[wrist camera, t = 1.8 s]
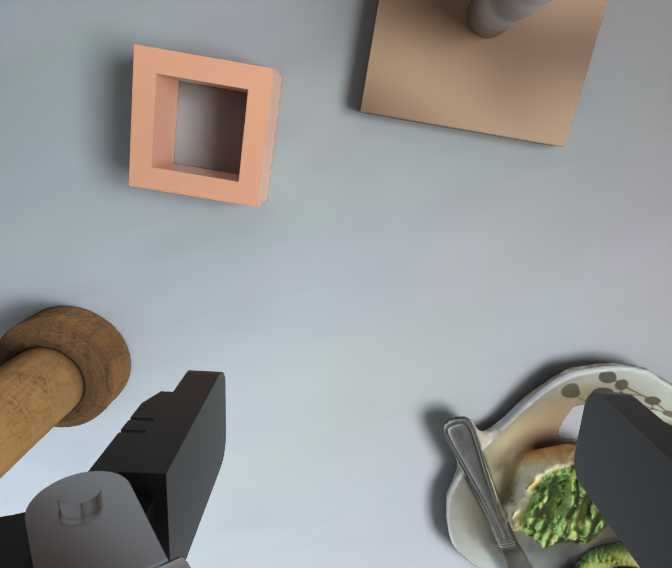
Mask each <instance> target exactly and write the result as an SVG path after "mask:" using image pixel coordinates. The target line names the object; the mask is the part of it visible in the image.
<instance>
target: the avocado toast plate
mask: <svg viewBox="0 0 672 568" xmlns="http://www.w3.org/2000/svg"><path fill="white" fill-rule="evenodd" d="M592 392H604V393H623V394H631V395H632V396H634V397H635V398H636V399H638V400H639V401H640V402H641V403H642V404H644V405H645V406H646V407H647V408H648V409H650V410H651V411H652V412H653V413H654V414H656V415H657V416H658V417H659V418H660V419H661V420H663V421H664V422H666V423H668V424H670V425H671V426H672V384H671V383H669V382H667V381H666V380H664V379H662V378H660V377H659V376H657V375H656V374H654V373H652V372H651V371H649V370H647V369H646V368H643V367H637V366H634V365H626V364H618V363H613V362H610V363H599V364H591V365H585V366H579V367H571V368H568V369H566V370H564V371H562V372H560V373H559V374H557V375H555V376H554V377H552V378H551V379H549V380H548V381H546V382H545V383H543V384H542V385H540V386H538V387H536V388H535V389H534V390H532V391H531V392H530V393H528V394H527V395H526V396H525V397H523V398H522V399H521V400H520V401H519V402H518V403H517V404H516V405H515V406H514V407H513V408H512V409H511V410H510V411H509V412H508V413H507V414H506V415H505V416H504V417H503V418H502V419H501V420H499V421H498V422H497V423H496V424H494V425H493V426H492V427H490V428H488V429H487V430H485V431H480V430H479V429H477V428H476V427H475V424H474V423H473V421H471V420H470V419H468V418H467V417H463V416H462V417H454V418H451V419H449V420H448V421H446V422H445V424H444V426H443V433H444V436H445V438H446V440H447V442H448V444H449V446H450V448H451V450H452V452H453V453H454V455H455V458H456V460H457V470H456V472H455V474H454V477H453V480H452V482H451V484H450V486H449V489H448V491H447V494H446V518H447V525H448V531H449V536H450V539H451V542H452V544H453V545H454V547H455V548H456V550H457V551H458V552H460V553H461V554H462V555H463V556H464V557H466V558H467V559H468V560H469V561H470V562H471V563H473V564H474V565H476V566H477V567H479V568H640V567H639V566H638V564H637V563H636V562H635V560H634V559H633V557H632V556H631V555H630V553H629V552H628V550H627V549H626V548H625V546H624V545H623V543H622V542H621V541H620V539H619V538H618V537H617V535H616V534H615V532H614V531H613V530H612V528H611V527H610V525H609V524H608V523H607V521H606V520H605V518H604V517H603V516H602V514H601V513H600V512H599V510H598V509H597V507H596V506H595V505H594V503H593V502H592V500H591V499H590V498H589V496H588V495H587V493H586V492H585V491H584V489H583V488H582V487H581V485H580V483H579V481H578V479H577V476H576V473H575V467H574V455H575V449H576V444H577V440H575V439H564V438H560V437H559V435H558V430H559V428H560V426H561V425H562V422H563V420H564V419H565V417H566V416H567V415H568V413H569V412H570V411H571V409H572V408H573V407H574V406H578V405H584V404H585V402H586V399H587V397H588V396H589V395H590V394H591V393H592Z"/></svg>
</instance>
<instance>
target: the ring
mask: <svg viewBox="0 0 672 568" xmlns="http://www.w3.org/2000/svg"><path fill="white" fill-rule="evenodd" d="M282 78H283V76H281V75H280V74H279V73H278V72H277V71H276V70H275V69H273V68H267V67H261V66H256V65H250V64H244V63H239V62H233V61H227V60H222V59H216V58H210V57H204V56H199V55H193V54H187V53H182V52H176V51H170V50H165V49H159V48H153V47H147V46H142V45H136V44H134V60H133V87H132V113H131V139H130V166H129V186H134V187H140V188H146V189H152V190H158V191H164V192H170V193H176V194H182V195H188V196H194V197H200V198H206V199H212V200H218V201H224V202H230V203H236V204H242V205H248V206H254V207H259V206H260V205H261V204H262V203H263V202H265V201H266V200H267V199H268V192H269V184H270V176H271V168H272V160H273V151H274V143H275V135H276V127H277V119H278V111H279V102H280V94H281V86H282ZM179 81H184V82H190V83H195V84H201V85H207V86H213V87H218V88H224V89H230V90H236V91H241V92H247V93H248V96H247V106H246V116H245V125H244V135H243V145H242V154H241V164H240V174H233V173H227V172H221V171H216V170H210V169H204V168H198V167H192V166H186V165H180V164H174V152H175V136H176V121H177V105H178V89H179Z"/></svg>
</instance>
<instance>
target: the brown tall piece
mask: <svg viewBox="0 0 672 568" xmlns="http://www.w3.org/2000/svg"><path fill="white" fill-rule="evenodd" d="M130 370H131V360H130V354H129V351H128V348H127V345H126V343H125V341H124V339H123V337H122V336H121V334H120V333H119V332H118V331H117V330H116V329H115V327H113V326H112V325H111V324H110V323H109V322H108V321H106V320H105V319H103V318H102V317H100V316H98V315H96V314H94V313H92V312H90V311H87V310H84V309H81V308H77V307H69V306H59V307H52V308H48V309H45V310H42V311H40V312H38V313H36V314H34V315H33V316H31V317H29V318H27V319H26V320H24V321H22V322H21V323H19V324H17V325H16V326H14V327H13V328H11V329H10V330H9V331H8V332H6V333H5V334H4V336H3V337H2V338H1V339H0V478H1V477H2V476H3V475H4V474H5V473H6V472H8V471H9V470H10V469H11V468H12V467H13V466H14V465H15V464H16V463H17V462H18V461H19V460H20V459H21V458H22V457H23V456H24V455H25V454H26V453H27V452H28V451H29V450H30V449H31V448H32V447H33V446H34V445H35V444H36V443H37V442H38V441H39V440H40V439H41V438H42V437H44V436H45V435H46V434H47V433H48V432H49V431H50V430H51V429H52V428H53V427H72V426H77V425H81V424H84V423H86V422H88V421H90V420H92V419H94V418H95V417H97V416H98V415H99V414H101V413H102V412H103V411H104V410H105V409H106V408H107V407H108V406H109V404H110V403H111V402H112V401H113V400H114V399H115V398H116V397H117V396H118V395H119V394H120V393H121V391H122V390H123V389H124V387H125V385H126V383H127V381H128V379H129V375H130Z"/></svg>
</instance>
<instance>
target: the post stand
mask: <svg viewBox="0 0 672 568" xmlns="http://www.w3.org/2000/svg"><path fill="white" fill-rule="evenodd" d="M607 1H608V0H379V2H378V8H377V14H376V20H375V26H374V32H373V38H372V44H371V49H370V55H369V61H368V67H367V73H366V79H365V85H364V91H363V97H362V103H361V109H360V112H362V113H368V114H374V115H380V116H385V117H391V118H397V119H403V120H408V121H414V122H420V123H426V124H431V125H437V126H443V127H449V128H454V129H460V130H466V131H472V132H477V133H483V134H489V135H495V136H500V137H506V138H512V139H518V140H523V141H529V142H535V143H541V144H546V145H552V146H561V147H565V145H566V142H567V138H568V135H569V131H570V128H571V124H572V121H573V118H574V114H575V111H576V107H577V104H578V101H579V97H580V94H581V90H582V87H583V83H584V80H585V77H586V73H587V70H588V66H589V63H590V60H591V56H592V53H593V49H594V46H595V42H596V39H597V36H598V32H599V29H600V25H601V22H602V19H603V15H604V12H605V8H606V5H607Z"/></svg>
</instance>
